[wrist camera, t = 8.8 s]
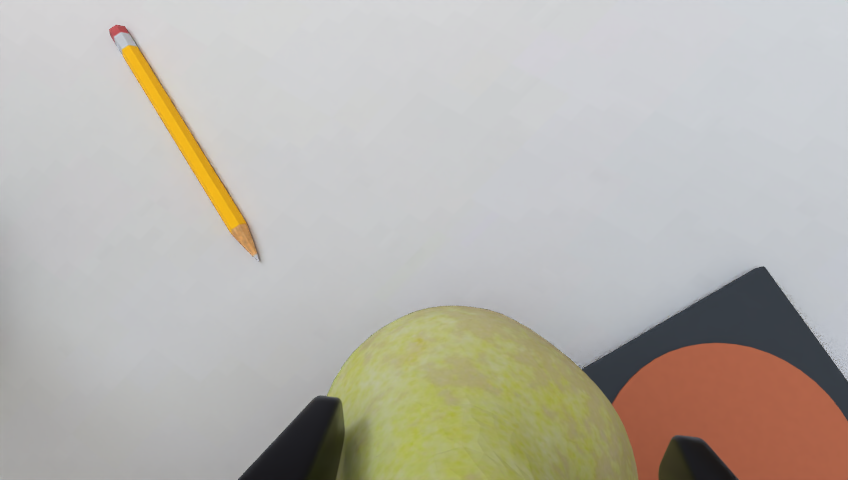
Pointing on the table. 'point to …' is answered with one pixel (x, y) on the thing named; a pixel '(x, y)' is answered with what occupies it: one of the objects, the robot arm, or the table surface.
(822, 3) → the table surface
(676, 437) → the robot arm
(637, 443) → the mat
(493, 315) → the fruit
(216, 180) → the pencil
